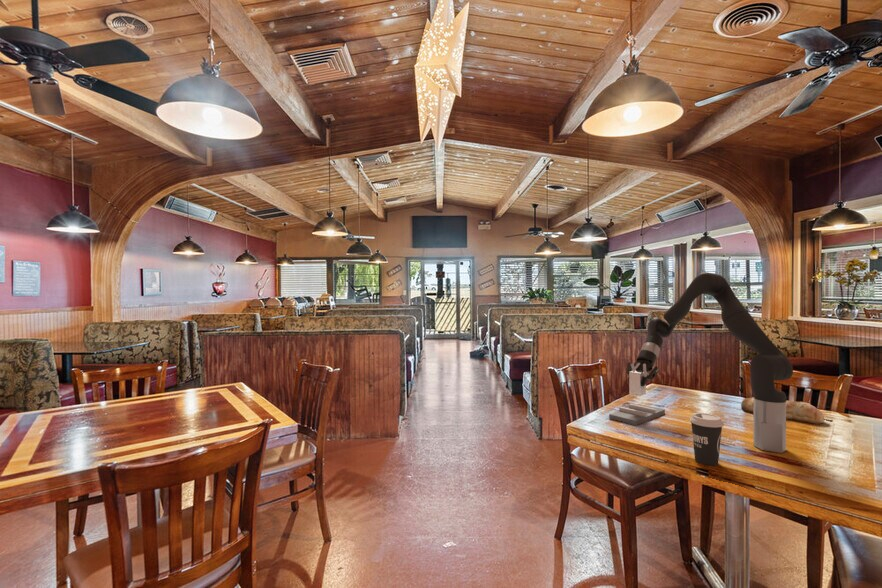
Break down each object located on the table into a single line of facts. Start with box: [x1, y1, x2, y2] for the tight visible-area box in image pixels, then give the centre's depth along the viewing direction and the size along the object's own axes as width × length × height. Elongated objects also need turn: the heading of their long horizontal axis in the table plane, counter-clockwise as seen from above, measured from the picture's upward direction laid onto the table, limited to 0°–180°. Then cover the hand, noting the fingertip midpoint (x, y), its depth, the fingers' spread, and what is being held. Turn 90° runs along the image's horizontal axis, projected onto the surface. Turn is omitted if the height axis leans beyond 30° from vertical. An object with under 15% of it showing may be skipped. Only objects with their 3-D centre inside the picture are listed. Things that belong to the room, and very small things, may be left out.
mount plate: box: [608, 403, 666, 426], centre depth 189 cm, size 12×26×4 cm, turn 128°
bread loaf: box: [740, 396, 834, 424], centre depth 188 cm, size 35×18×9 cm, turn 51°
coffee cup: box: [689, 412, 725, 467], centre depth 139 cm, size 10×10×15 cm
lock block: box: [628, 370, 647, 397], centre depth 189 cm, size 5×5×10 cm
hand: (635, 384), depth 188 cm, fingers closed on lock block, 5 cm apart
